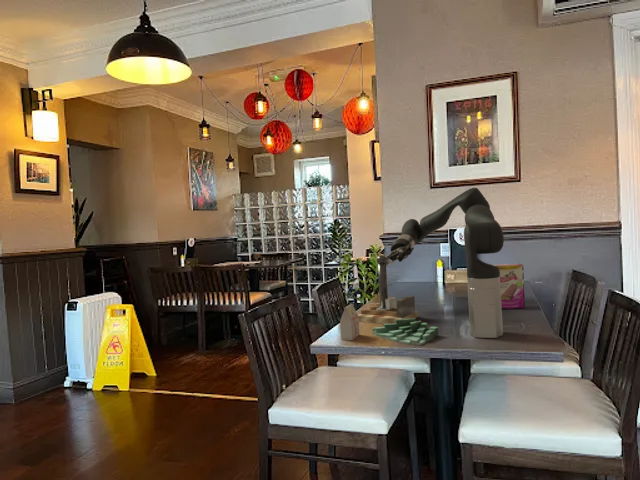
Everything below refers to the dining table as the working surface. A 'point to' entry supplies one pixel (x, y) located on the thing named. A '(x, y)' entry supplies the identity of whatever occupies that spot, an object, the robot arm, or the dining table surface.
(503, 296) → the candy bar box
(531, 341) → the dining table surface
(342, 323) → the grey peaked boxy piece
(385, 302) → the handle
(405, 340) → the money
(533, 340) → the dining table surface
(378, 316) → the press bench
